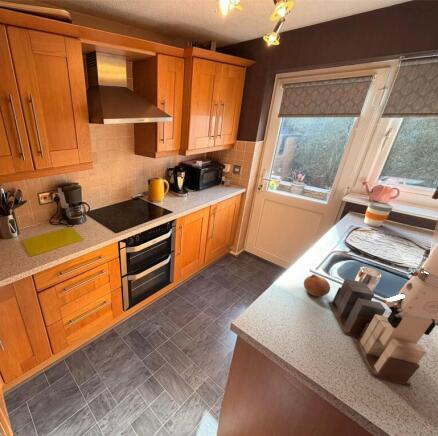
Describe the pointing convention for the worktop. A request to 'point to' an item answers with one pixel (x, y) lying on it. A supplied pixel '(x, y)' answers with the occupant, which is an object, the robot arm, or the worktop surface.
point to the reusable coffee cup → (377, 213)
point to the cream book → (406, 329)
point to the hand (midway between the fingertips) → (407, 327)
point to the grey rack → (355, 307)
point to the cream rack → (388, 353)
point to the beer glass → (368, 277)
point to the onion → (316, 286)
